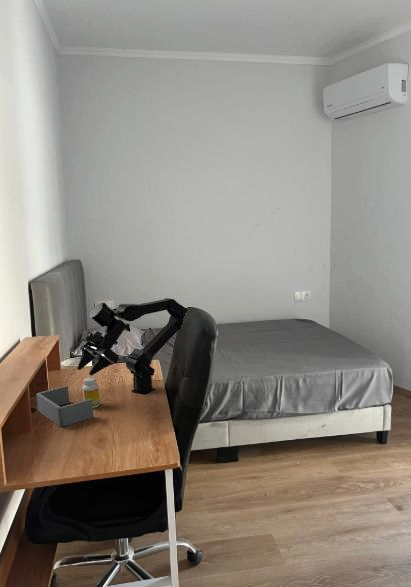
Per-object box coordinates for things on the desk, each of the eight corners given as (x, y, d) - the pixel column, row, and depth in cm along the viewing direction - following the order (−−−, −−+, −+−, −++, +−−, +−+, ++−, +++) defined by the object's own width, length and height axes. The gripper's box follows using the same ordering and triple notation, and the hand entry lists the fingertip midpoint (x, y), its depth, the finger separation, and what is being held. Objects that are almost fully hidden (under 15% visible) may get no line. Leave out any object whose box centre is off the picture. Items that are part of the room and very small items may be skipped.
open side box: (68, 401, 173) (66, 385, 172) (93, 417, 157) (91, 399, 156) (37, 410, 166) (35, 393, 165) (60, 427, 150) (58, 408, 150)
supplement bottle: (81, 406, 168) (78, 379, 167) (95, 401, 171) (93, 375, 170) (88, 410, 164) (85, 382, 162) (102, 405, 167) (100, 378, 166)
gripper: (82, 318, 173) (55, 354, 168) (107, 324, 159) (78, 364, 153) (104, 335, 179) (78, 371, 174) (130, 343, 165) (103, 382, 159)
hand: (84, 372), depth 165 cm, fingers open, 9 cm apart
